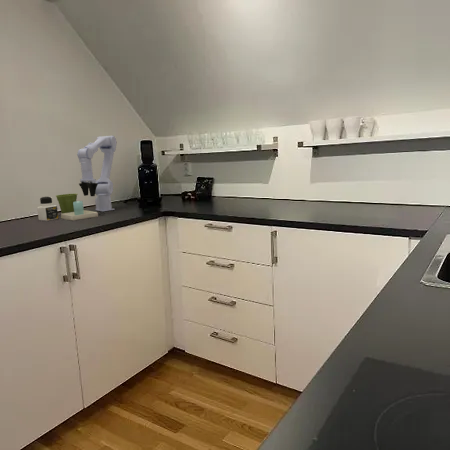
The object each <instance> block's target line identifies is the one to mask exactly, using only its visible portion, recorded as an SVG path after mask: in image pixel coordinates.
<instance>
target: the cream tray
mask: <svg viewBox="0 0 450 450" xmlns="http://www.w3.org/2000/svg"><path fill="white" fill-rule="evenodd" d="M98 212H99V211H92V210H84V214H81V215H75V214H74V212H70V213H64V214H62V213H60V219H61V220H66V221H72V222H73V221H80V220H86V219H93V218H98V217H99V213H98Z"/></svg>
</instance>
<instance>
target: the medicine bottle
mask: <svg viewBox="0 0 450 450" xmlns="http://www.w3.org/2000/svg"><path fill="white" fill-rule="evenodd" d="M53 201H54V200H53V197H52V196H42V197H40V199H39V202H40V206H37V207H36V208H37V216H38V220H39V221H44V222H45V221H46V222H48V221H53V220H58V219H59V212H58V205H55V204H54V202H53Z"/></svg>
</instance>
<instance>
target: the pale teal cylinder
mask: <svg viewBox="0 0 450 450" xmlns="http://www.w3.org/2000/svg"><path fill="white" fill-rule="evenodd" d="M73 205H74V214H75V215H81V214H84V202H83V200H76V201H75V202H73Z"/></svg>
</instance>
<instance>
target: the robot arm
mask: <svg viewBox="0 0 450 450" xmlns="http://www.w3.org/2000/svg"><path fill="white" fill-rule="evenodd" d="M116 138H117V137H115V136H114V135H103V136H102V135H99V136H97V137H96V140H95V141H94V142H88V143H87V145H85V146H84V147H82V148H80V149H78V150H77V154H76V155H77V158H78V161H79V163H80V170H81V178H79V181H80V182H79V183H78V185H79V187H80V188H81V191H82V194H83V196H85V197H86V196H89V195H90V197H95V196H96V197H95V200H94V201H95V209H94V211H95V212H108V211H109V212H110V211H113V210H114V211H115V208H113V207H112V199H111V195H112V194H113V192H114V183H113V181H112V180H111V179H110V177H111V174H112V173H111V172H112V168H113V167H112V166H113V165H112V164H113V160H114V155H115V152H116V148H117V139H116ZM99 149H100V151H101V153H103V154H104V155H103V159H102V166H101V171H100V177H99V178H98V179H95V178H94V173H93V166H92V165H93V164H92V159H93V158H94V154H96V153H97V152H98V150H99Z"/></svg>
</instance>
